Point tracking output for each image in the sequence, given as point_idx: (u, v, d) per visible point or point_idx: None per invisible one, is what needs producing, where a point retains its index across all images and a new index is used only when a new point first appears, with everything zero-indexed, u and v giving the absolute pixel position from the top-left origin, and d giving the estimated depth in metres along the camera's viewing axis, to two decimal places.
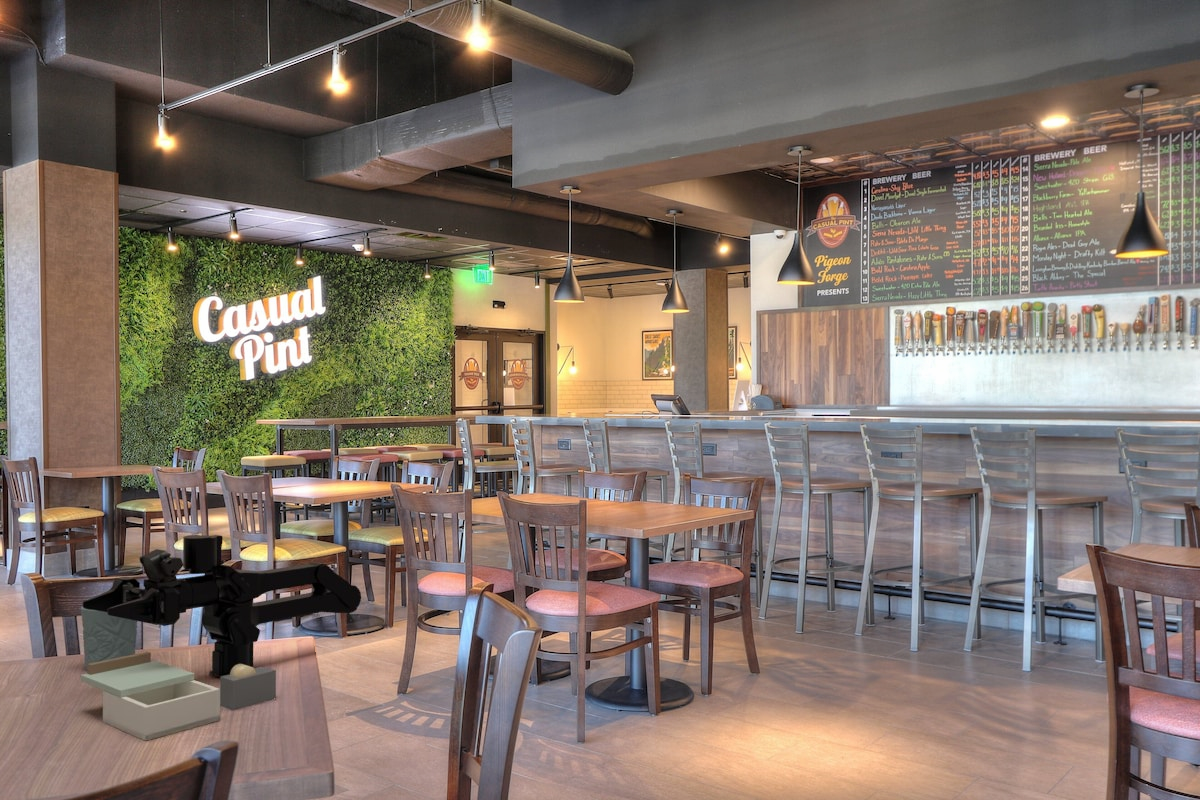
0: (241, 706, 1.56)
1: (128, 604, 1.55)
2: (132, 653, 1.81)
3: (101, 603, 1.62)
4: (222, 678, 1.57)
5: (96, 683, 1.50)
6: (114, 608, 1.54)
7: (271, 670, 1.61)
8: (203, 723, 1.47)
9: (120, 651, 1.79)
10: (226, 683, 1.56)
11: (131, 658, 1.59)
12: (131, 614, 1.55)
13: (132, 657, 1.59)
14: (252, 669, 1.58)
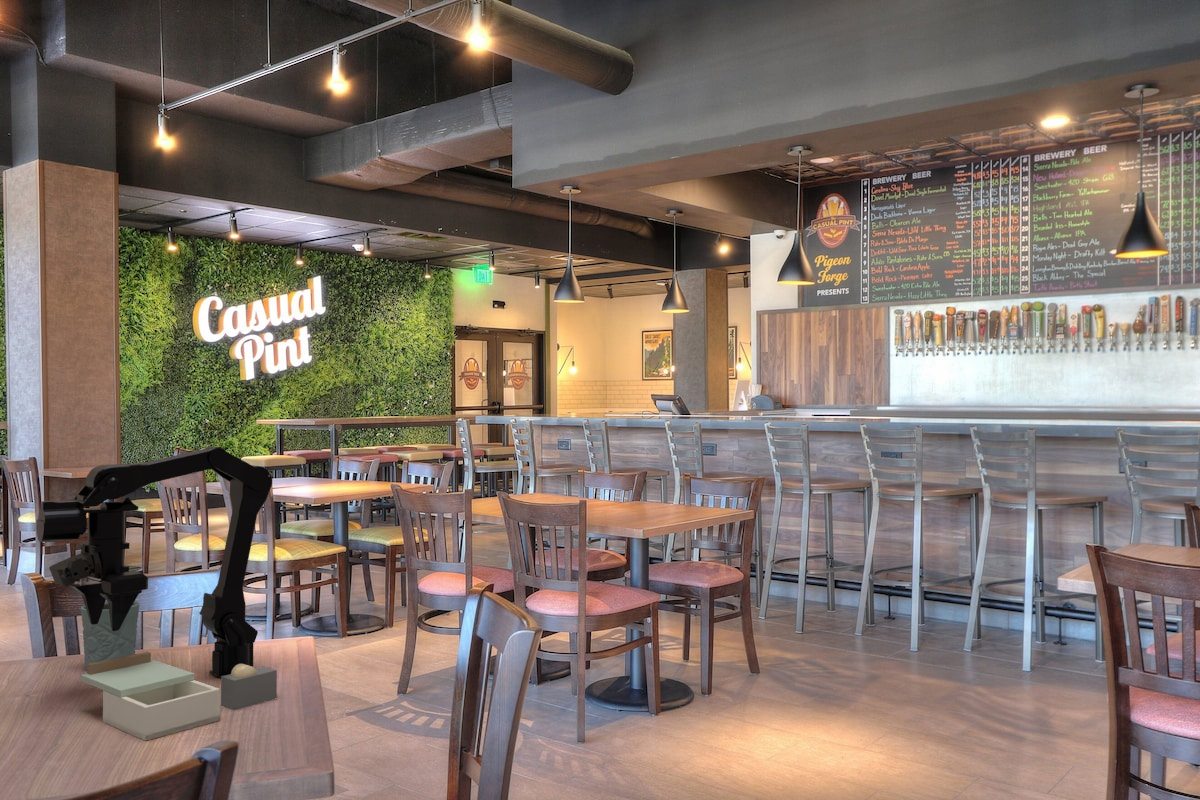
0: (242, 706, 1.56)
1: (113, 615, 1.58)
2: (132, 653, 1.81)
3: (96, 606, 1.64)
4: (223, 678, 1.57)
5: (96, 683, 1.50)
6: (113, 626, 1.58)
7: (272, 670, 1.61)
8: (203, 723, 1.47)
9: (120, 651, 1.79)
10: (227, 683, 1.56)
11: (131, 658, 1.59)
12: (124, 611, 1.59)
13: (132, 657, 1.59)
14: (253, 669, 1.58)
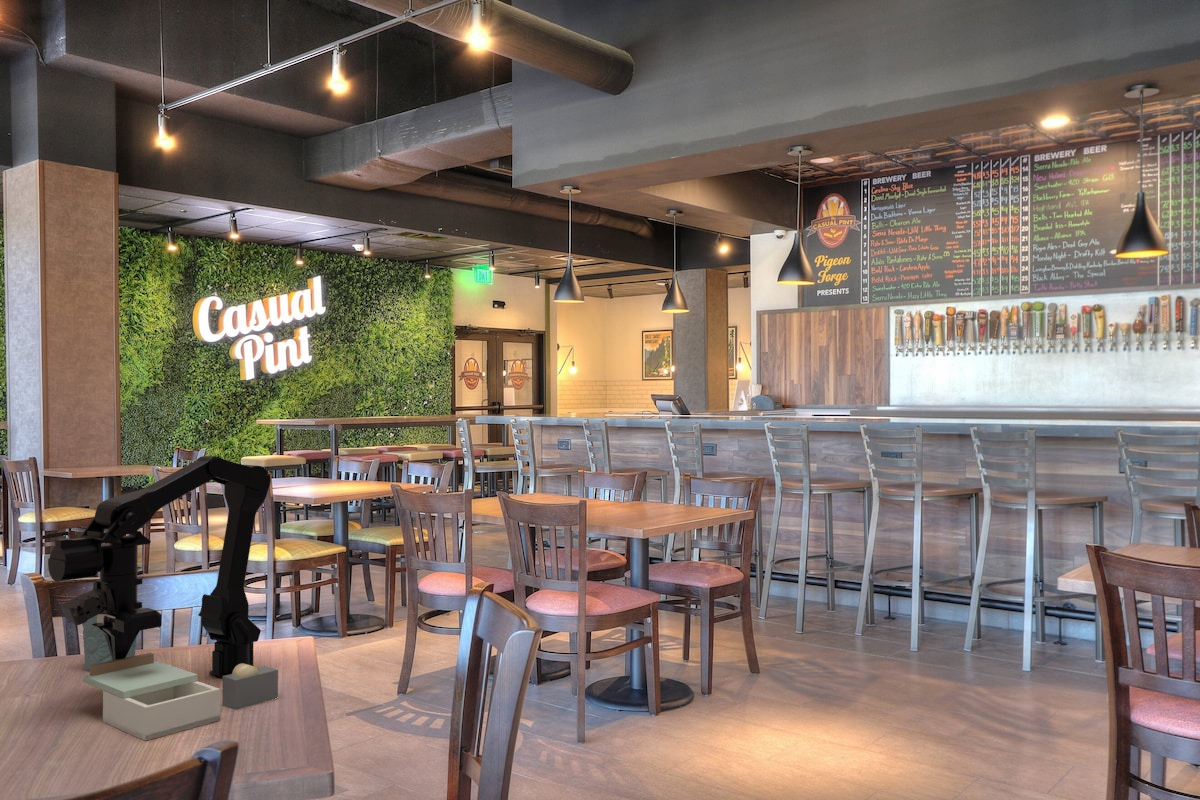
0: (243, 705, 1.56)
1: (116, 649, 1.57)
2: (132, 653, 1.81)
3: None
4: (224, 677, 1.57)
5: (99, 684, 1.49)
6: None
7: (273, 670, 1.61)
8: (203, 723, 1.47)
9: None
10: (228, 682, 1.56)
11: (134, 659, 1.58)
12: (126, 645, 1.58)
13: (135, 658, 1.58)
14: (254, 668, 1.58)
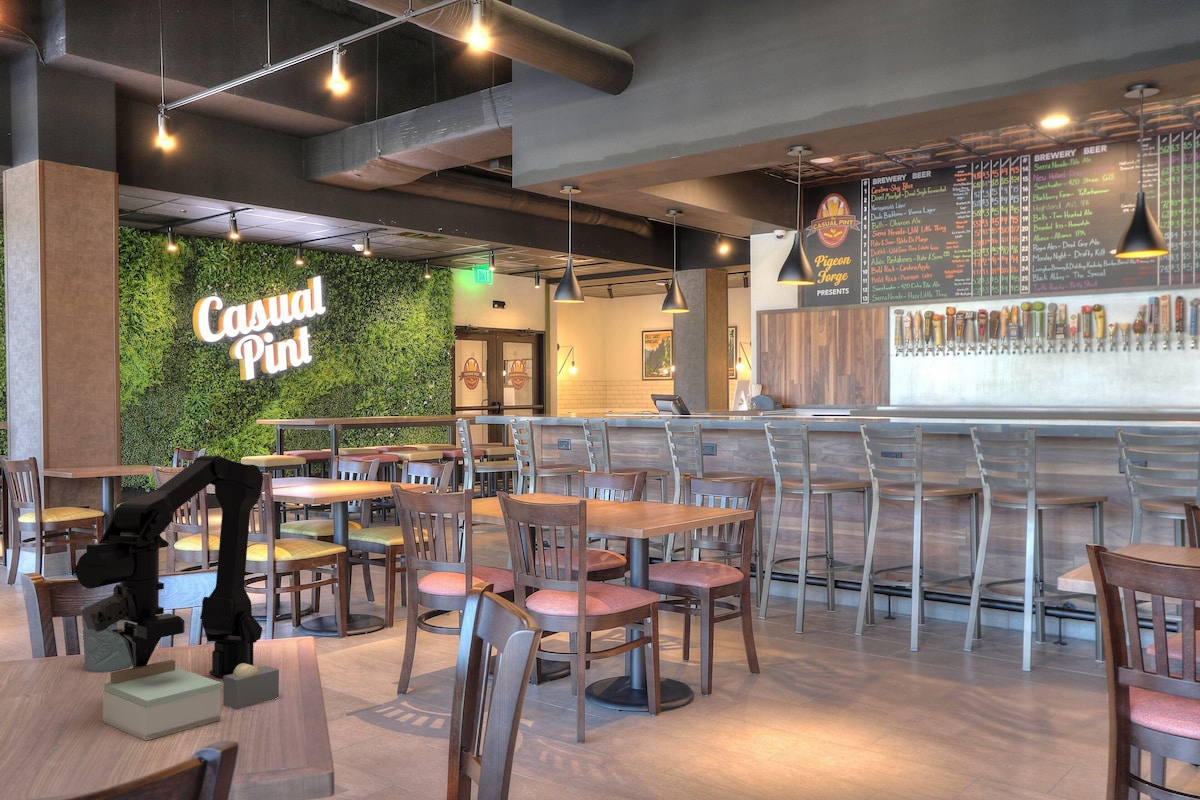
0: (244, 705, 1.56)
1: (137, 656, 1.52)
2: None
3: None
4: (225, 677, 1.57)
5: (120, 693, 1.45)
6: None
7: (274, 669, 1.61)
8: (203, 723, 1.47)
9: (120, 651, 1.79)
10: (229, 682, 1.56)
11: (155, 666, 1.54)
12: (148, 652, 1.54)
13: (156, 665, 1.54)
14: (255, 668, 1.58)
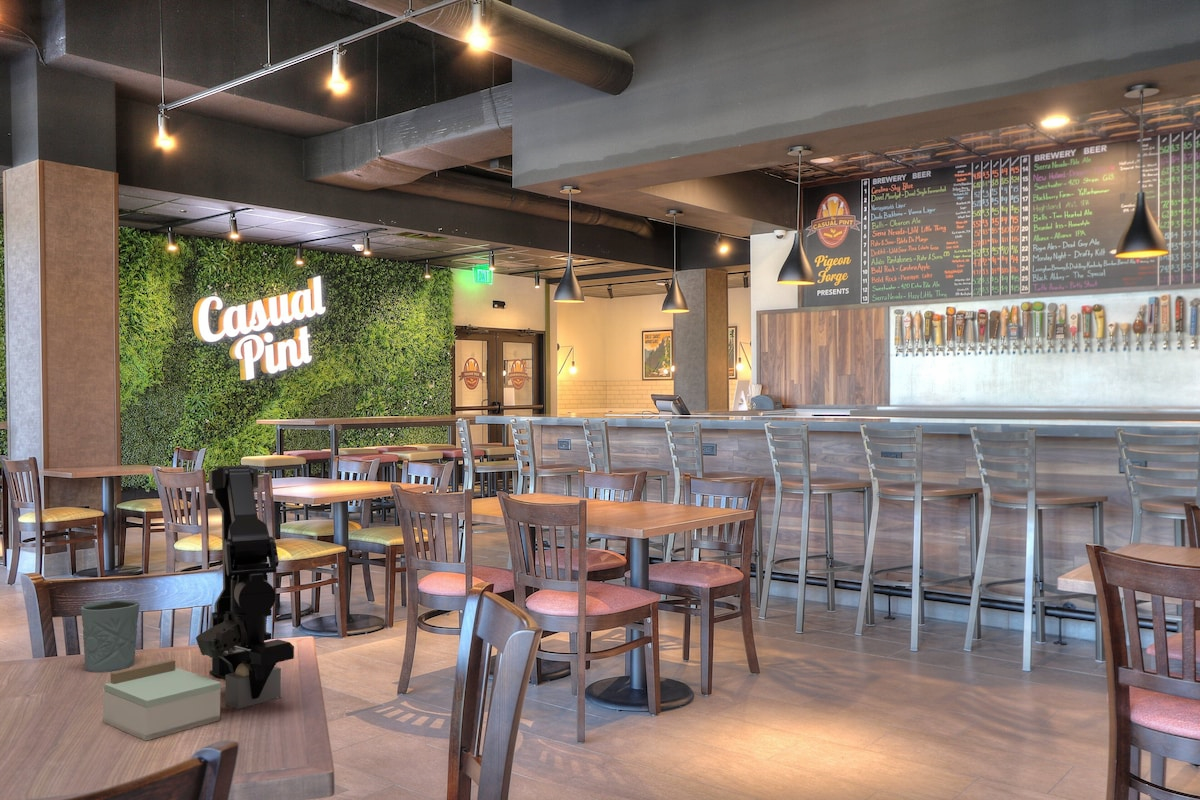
0: (246, 704, 1.56)
1: (254, 683, 1.56)
2: (132, 653, 1.81)
3: None
4: (227, 676, 1.57)
5: (120, 693, 1.45)
6: (254, 694, 1.57)
7: (276, 668, 1.61)
8: (203, 723, 1.47)
9: (120, 651, 1.79)
10: (231, 681, 1.56)
11: (155, 666, 1.54)
12: (263, 678, 1.57)
13: (156, 665, 1.54)
14: None
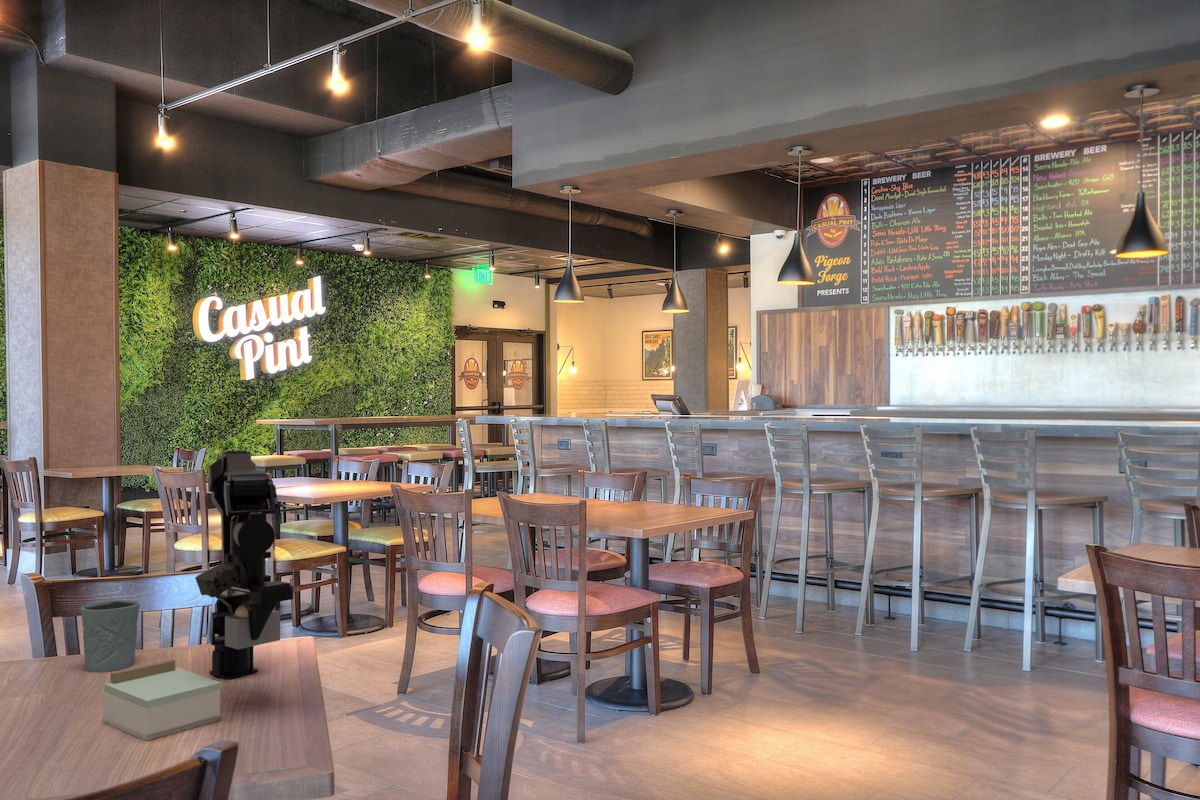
0: (246, 645, 1.56)
1: (253, 624, 1.56)
2: (132, 653, 1.81)
3: None
4: (227, 617, 1.57)
5: (120, 693, 1.45)
6: (253, 635, 1.57)
7: (275, 611, 1.61)
8: (203, 723, 1.47)
9: (120, 651, 1.79)
10: (231, 622, 1.56)
11: (155, 666, 1.54)
12: (263, 620, 1.57)
13: (156, 665, 1.54)
14: None
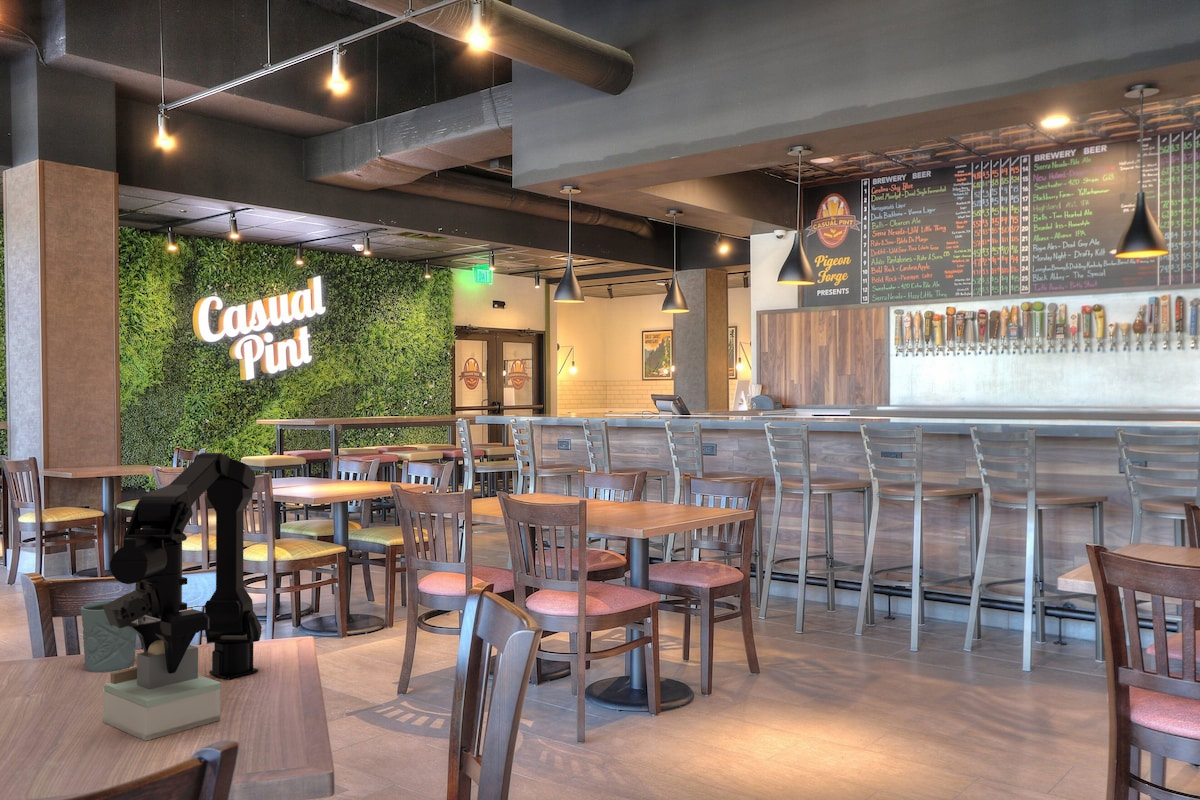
0: (158, 684, 1.47)
1: (169, 657, 1.46)
2: (132, 653, 1.81)
3: None
4: (139, 655, 1.48)
5: (120, 693, 1.45)
6: (170, 668, 1.47)
7: (193, 647, 1.52)
8: (203, 723, 1.47)
9: (120, 651, 1.79)
10: (142, 660, 1.47)
11: None
12: (180, 652, 1.47)
13: None
14: None
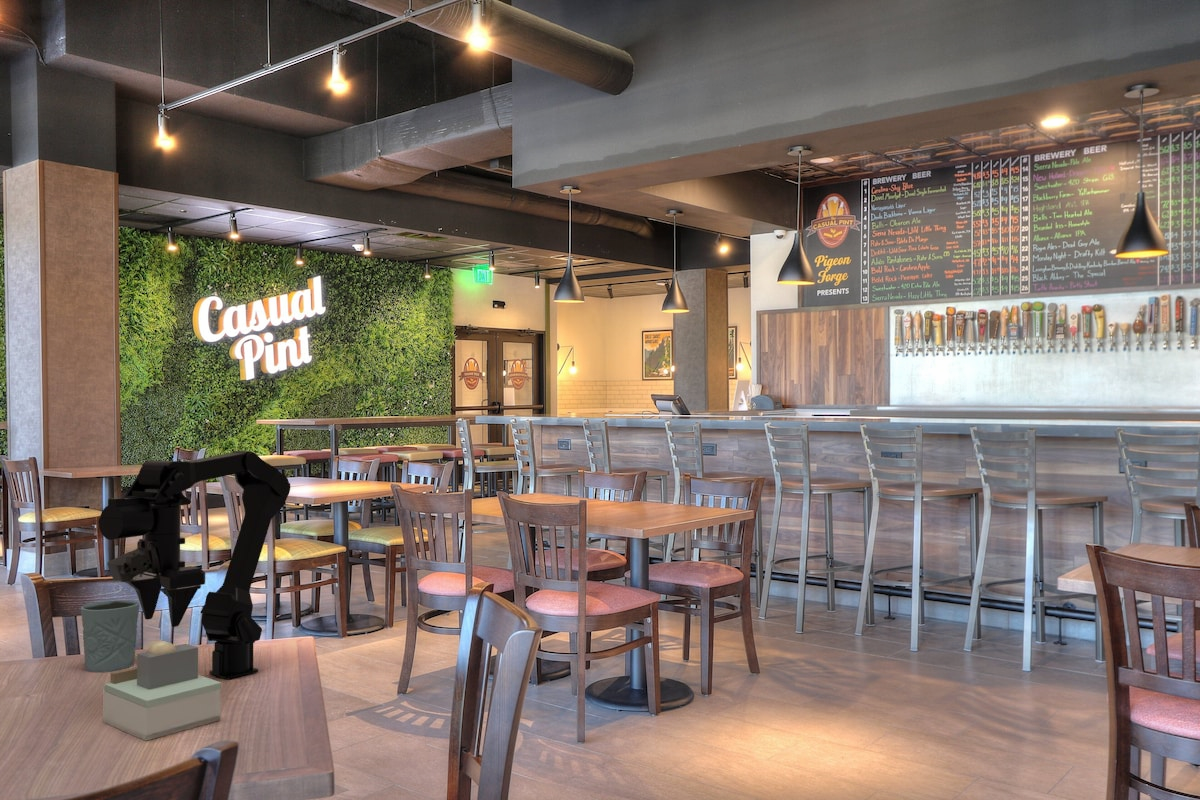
0: (158, 684, 1.47)
1: (173, 611, 1.57)
2: (132, 653, 1.81)
3: (150, 601, 1.64)
4: (139, 655, 1.48)
5: (120, 693, 1.45)
6: (173, 622, 1.58)
7: (193, 647, 1.52)
8: (203, 723, 1.47)
9: (120, 651, 1.79)
10: (142, 660, 1.47)
11: None
12: (183, 607, 1.58)
13: None
14: (171, 646, 1.49)
